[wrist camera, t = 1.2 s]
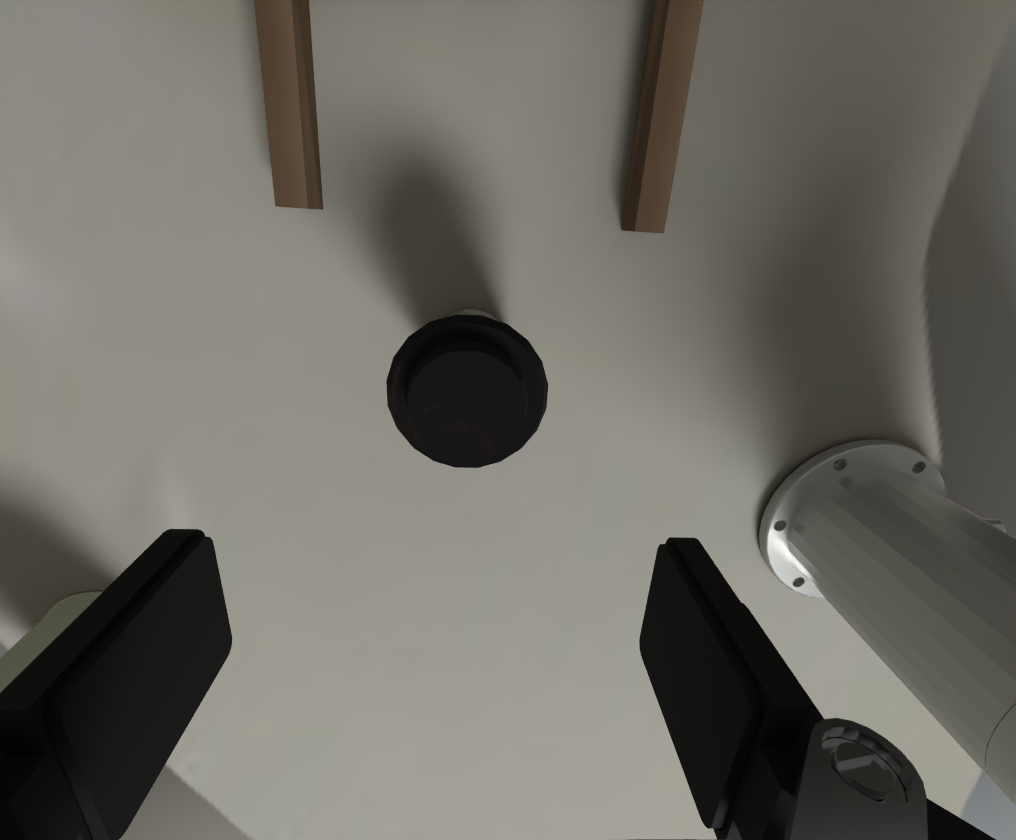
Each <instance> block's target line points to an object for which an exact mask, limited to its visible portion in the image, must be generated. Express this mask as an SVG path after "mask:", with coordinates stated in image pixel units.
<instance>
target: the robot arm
mask: <svg viewBox="0 0 1016 840" xmlns="http://www.w3.org/2000/svg"><path fill="white" fill-rule="evenodd" d="M759 542H760V550H761V553H762V556H763V559H764V561H765V563H766V564H767V566H768V567H769V569H770V570H771V572H772V573H773V574H774V575H775V576H776V577H777V578H778V579H779V580H780V582H781V583H782V584H784V585H785V586H787V587H788V588H789V589H791V590H793V591H795V592H798V593H800V594H803V595H805V596H811V597H816V598H826V599H827V601H828V602H829V603H830V604H831V605H832V606H833V607H834V608H835V609H836V610H837V611H838V613H839V614H840V615H841V616H842V617H843V618H844V619H845V620H846V621H847V622H848V624H849V625H850V626H851V627H852V628H853V629H854V630H855V631H856V632H857V633H858V634H859V636H860V637H861V638H862V639H863V640H864V641H865V642H866V643H867V644H868V645H869V646H870V648H871V649H872V650H873V651H874V652H875V653H876V654H877V655H878V656H879V657H880V659H881V660H882V661H883V662H884V663H885V664H886V665H887V666H888V667H889V668H890V669H891V671H892V672H893V673H894V674H895V675H896V676H897V677H898V678H899V679H900V680H901V681H902V683H903V684H904V685H905V686H906V687H907V688H908V689H909V690H910V691H911V692H912V693H913V695H914V696H915V697H916V698H917V699H918V700H919V701H920V702H921V703H922V704H923V706H924V707H925V708H926V709H927V710H928V711H929V712H930V713H931V714H932V715H933V716H934V718H935V719H936V720H937V721H938V722H939V723H940V724H941V725H942V726H943V727H944V728H945V730H946V731H947V732H948V733H949V734H950V735H951V736H952V737H953V738H954V739H955V741H956V742H957V743H958V744H959V745H960V746H961V747H962V748H963V749H964V750H965V751H966V753H967V754H968V755H969V756H970V757H971V758H972V759H973V760H974V761H975V762H976V763H977V765H978V766H979V767H980V768H981V769H982V770H983V771H984V772H985V773H986V774H987V776H988V777H989V778H990V779H991V780H992V781H993V782H994V783H995V784H996V785H997V786H998V787H999V788H1000V789H1001V790H1002V791H1003V793H1004V794H1005V795H1006V796H1007V797H1008V798H1009V799H1010V800H1011V801H1012V803H1013V804H1014V805H1015V806H1016V539H1015V538H1014V537H1012V536H1010V535H1009V534H1007V533H1006V529H1005V526H1004V524H1003V523H1002V522H1000V521H999V520H996V519H985V518H980V517H978V516H977V515H975V514H973V513H972V512H970V511H968V510H967V509H965V508H963V507H962V506H960V505H958V504H957V503H955V502H953V501H952V500H950V499H948V498H947V494H946V488H945V482H944V480H943V478H942V476H941V474H940V471H939V470H938V469H937V467H936V466H935V465H934V464H933V463H932V462H931V460H930V459H928V458H927V457H925V456H924V455H922V454H921V453H919V452H917V451H915V450H913V449H911V448H909V447H907V446H905V445H903V444H901V443H897V442H893V441H888V440H876V439H867V440H860V441H853V442H848V443H845V444H842V445H839V446H835V447H832V448H830V449H828V450H826V451H824V452H822V453H820V454H818V455H816V456H814V457H813V458H811V459H810V460H808V461H807V462H805V463H804V464H802V465H801V466H799V467H798V468H797V469H796V470H795V471H794V472H793V473H792V474H790V475H789V476H788V477H787V478H786V479H785V480H784V481H783V483H782V484H781V485H780V486H779V488H778V489H777V490H776V491H775V492H774V494H773V496H772V498H771V499H770V501H769V503H768V505H767V506H766V509H765V512H764V514H763V517H762V520H761V525H760V532H759ZM231 645H232V634H231V629H230V624H229V619H228V614H227V609H226V604H225V599H224V594H223V589H222V584H221V579H220V574H219V569H218V564H217V559H216V554H215V549H214V544H213V541H212V539H211V538H210V537H205V535H204V533H203V532H202V531H201V530H199V529H169V530H167V531H165V532H164V533H163V534H162V535H161V536H160V537H159V538H157V539H156V540H155V541H154V542H153V543H152V544H151V545H150V546H149V547H148V548H147V549H146V550H145V551H144V552H143V553H142V554H141V555H140V556H139V557H138V558H137V559H136V560H135V561H134V562H133V563H132V564H131V565H130V566H129V567H128V568H127V569H126V570H125V571H124V572H123V573H122V574H121V575H120V576H119V577H118V578H117V579H116V580H115V581H114V582H113V583H112V584H111V585H110V586H109V587H107V588H106V589H105V590H104V591H103V592H102V593H101V594H100V595H99V596H98V597H97V598H96V599H95V600H94V601H93V602H92V603H91V604H90V605H89V606H88V607H87V608H86V609H85V610H84V611H83V612H82V613H81V614H80V615H79V616H78V617H77V618H76V619H75V620H74V621H73V622H72V623H71V624H70V625H69V626H68V627H67V628H66V629H65V630H64V631H63V632H62V633H61V634H60V635H59V636H58V637H56V638H55V639H54V640H53V641H52V642H51V643H50V644H49V645H48V646H47V647H46V648H45V649H44V650H43V651H42V652H41V653H40V654H39V655H38V656H37V657H36V658H35V659H34V660H33V661H32V662H31V663H30V664H29V665H28V666H27V667H26V668H25V669H24V670H23V671H22V672H21V673H20V674H19V675H18V676H17V677H16V678H15V679H14V680H13V681H12V682H11V683H10V684H9V685H8V686H6V687H5V688H4V689H3V690H2V691H1V692H0V840H119V839H120V838H121V837H122V836H123V835H124V833H125V832H126V830H127V829H128V827H129V825H130V823H131V822H132V820H133V818H134V816H135V815H136V813H137V811H138V810H139V808H140V806H141V805H142V803H143V801H144V799H145V798H146V796H147V794H148V792H149V791H150V789H151V787H152V786H153V784H154V782H155V780H156V779H157V777H158V775H159V774H160V772H161V770H162V769H163V767H164V765H165V763H166V762H167V760H168V758H169V757H170V755H171V753H172V751H173V750H174V748H175V746H176V745H177V743H178V741H179V739H180V738H181V736H182V734H183V733H184V731H185V729H186V727H187V726H188V724H189V722H190V721H191V719H192V717H193V715H194V714H195V712H196V710H197V708H198V707H199V705H200V703H201V702H202V700H203V698H204V696H205V695H206V693H207V691H208V690H209V688H210V686H211V684H212V683H213V681H214V679H215V678H216V676H217V674H218V672H219V671H220V669H221V667H222V666H223V664H224V662H225V660H226V659H227V657H228V655H229V653H230V649H231ZM640 652H641V656H642V659H643V662H644V665H645V667H646V670H647V673H648V676H649V678H650V681H651V684H652V686H653V689H654V692H655V695H656V697H657V700H658V703H659V706H660V708H661V711H662V714H663V716H664V719H665V722H666V725H667V727H668V730H669V733H670V736H671V738H672V741H673V744H674V746H675V749H676V752H677V755H678V757H679V760H680V763H681V766H682V768H683V771H684V774H685V777H686V779H687V782H688V785H689V787H690V790H691V793H692V796H693V798H694V801H695V804H696V807H697V809H698V812H699V815H700V817H701V820H702V822H703V823H704V825H705V826H706V827H707V828H713V829H714V832H715V834H716V837H717V839H718V840H996V839H994V838H992V837H991V836H989V835H987V834H986V833H984V832H982V831H980V830H979V829H977V828H975V827H974V826H972V825H970V824H969V823H967V822H965V821H964V820H962V819H961V818H959V817H957V816H955V815H954V814H952V813H950V812H949V811H947V810H945V809H944V808H942V807H940V806H939V805H937V804H935V803H934V802H932V801H930V800H929V799H927V798H926V792H925V788H924V784H923V781H922V779H921V777H920V776H919V774H918V772H917V771H916V769H915V767H914V766H913V764H912V763H911V762H910V761H909V760H908V759H907V758H906V756H905V755H904V754H903V753H902V752H901V751H900V750H899V749H898V748H897V747H895V746H894V745H893V744H892V743H891V742H889V741H888V740H887V739H886V738H884V737H883V736H881V735H880V734H878V733H876V732H875V731H873V730H871V729H870V728H868V727H866V726H863V725H861V724H858V723H856V722H853V721H850V720H844V719H839V718H832V719H824V718H823V717H822V715H821V714H820V712H819V711H818V709H817V708H816V707H815V705H814V704H813V702H812V701H811V699H810V698H809V696H808V695H807V693H806V692H805V691H804V689H803V688H802V686H801V685H800V683H799V682H798V680H797V679H796V677H795V676H794V674H793V673H792V672H791V670H790V669H789V667H788V666H787V664H786V663H785V661H784V660H783V658H782V657H781V656H780V654H779V653H778V651H777V650H776V648H775V647H774V645H773V644H772V642H771V641H770V640H769V638H768V637H767V635H766V634H765V632H764V631H763V629H762V628H761V626H760V625H759V624H758V622H757V621H756V619H755V618H754V616H753V615H752V613H751V612H750V610H749V609H748V608H747V607H746V606H745V605H744V604H743V603H741V602H740V600H739V599H738V597H737V596H736V595H735V593H734V592H733V590H732V589H731V587H730V586H729V584H728V583H727V581H726V580H725V578H724V577H723V575H722V574H721V572H720V571H719V569H718V568H717V567H716V565H715V564H714V562H713V561H712V559H711V558H710V556H709V555H708V553H707V552H706V550H705V549H704V547H703V546H702V544H701V543H700V542H699V540H698V539H696V538H672V537H670V538H668V540H667V541H666V544H661V545H659V547H658V550H657V555H656V560H655V565H654V570H653V575H652V580H651V585H650V590H649V594H648V599H647V604H646V609H645V614H644V619H643V624H642V629H641V634H640ZM629 840H695V839H629Z"/></svg>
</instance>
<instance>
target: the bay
mask: <svg viewBox="0 0 1016 840" xmlns="http://www.w3.org/2000/svg"><path fill="white" fill-rule="evenodd" d="M254 1H255V10H256V20H257V30H258V40H259V50H260V60H261V69H262V79H263V89H264V99H265V109H266V118H267V128H268V138H269V148H270V158H271V168H272V177H273V187H274V197H275V206H278V207H293V208H307V209H323V202H322V187H321V173H320V158H319V144H318V129H317V115H316V100H315V86H314V71H313V57H312V42H311V28H310V13H309V0H254ZM703 1H704V0H654V2H653V9H652V16H651V24H650V31H649V38H648V45H647V52H646V59H645V66H644V73H643V81H642V88H641V95H640V102H639V109H638V116H637V123H636V130H635V137H634V145H633V152H632V159H631V166H630V173H629V180H628V187H627V194H626V202H625V209H624V216H623V223H622V230H625V231H638V232H652V233H664V229H665V223H666V218H667V212H668V206H669V200H670V194H671V188H672V182H673V177H674V171H675V165H676V159H677V153H678V147H679V141H680V136H681V130H682V124H683V118H684V112H685V106H686V100H687V95H688V89H689V83H690V77H691V71H692V65H693V59H694V54H695V48H696V42H697V36H698V30H699V24H700V18H701V13H702V7H703Z"/></svg>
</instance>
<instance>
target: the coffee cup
mask: <svg viewBox="0 0 1016 840" xmlns="http://www.w3.org/2000/svg"><path fill="white" fill-rule="evenodd" d="M547 393H548V383H547V379H546V375H545V371H544V367H543V363H542V361H541V359H540V358H539V356H538V355H537V353H536V352H535V350H534V349H533V347H532V346H531V344H530V343H529V341H528V340H527V339H526V338H524V337H523V336H522V335H520V334H519V333H518V332H517V331H515V330H514V329H513V328H512V327H510V326H509V325H508V324H505V323H502V322H500V321H498V320H497V319H496V318H495V317H493V316H492V315H491V314H489V313H487V312H484V311H481V310H478V309H463V310H460V311H456V312H453V313H452V314H450V315H449V316H447V317H445V318H442V319H438V320H435V321H431V322H429V323H428V324H426V325H425V326H423V327H422V328H420V329H419V330H418V331H416V332H415V333H413V334H412V335H410V336H409V337H408V338H407V340H406V341H405V342H404V344H403V345H402V346H401V348H400V349H399V351H398V352H397V353H396V355H395V356H394V357H393V361H392V364H391V368H390V371H389V374H388V378H387V401H388V407H389V410H390V412H391V415H392V417H393V420H394V422H395V425H396V427H397V429H398V430H399V431H400V432H401V433H402V435H403V436H404V437H405V438H406V439H407V441H408V442H409V443H410V444H411V445H412V447H413V448H415V449H416V450H418V451H419V452H421V453H422V454H424V455H425V456H427V457H428V458H430V459H431V460H433V461H436V462H439V463H443V464H446V465H449V466H452V467H466V468H479V467H482V466H486V465H490V464H493V463H497V462H500V461H502V460H504V459H505V458H507V457H508V456H510V455H512V454H513V453H515V452H517V451H518V450H520V449H521V448H522V447H523V446H524V445H525V444H526V442H527V441H528V440H529V439H530V438H531V437H532V435H533V434H534V433H535V432H536V431H537V429H538V427H539V425H540V422H541V420H542V418H543V415H544V413H545V410H546V406H547Z"/></svg>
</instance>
